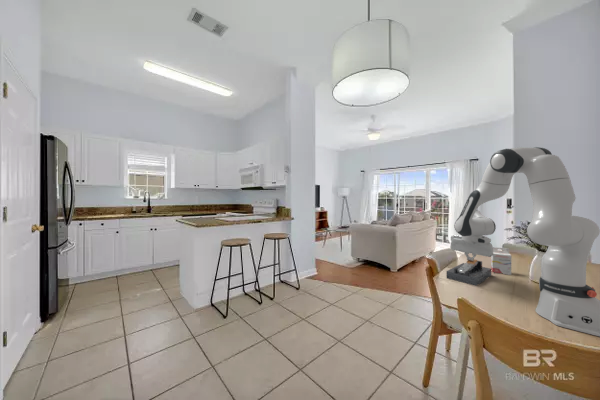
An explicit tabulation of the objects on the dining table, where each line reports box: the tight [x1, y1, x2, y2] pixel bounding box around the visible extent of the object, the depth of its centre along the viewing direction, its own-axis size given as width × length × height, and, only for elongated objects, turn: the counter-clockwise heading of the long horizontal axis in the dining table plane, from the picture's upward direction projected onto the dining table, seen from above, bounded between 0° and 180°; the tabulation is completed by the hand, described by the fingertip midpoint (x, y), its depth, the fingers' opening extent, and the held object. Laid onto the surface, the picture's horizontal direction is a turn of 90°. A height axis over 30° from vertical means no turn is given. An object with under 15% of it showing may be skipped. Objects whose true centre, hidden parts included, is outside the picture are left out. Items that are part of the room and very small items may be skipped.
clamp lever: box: [457, 259, 479, 274], centre depth 127 cm, size 4×19×2 cm, turn 125°
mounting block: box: [446, 260, 492, 287], centre depth 128 cm, size 14×24×8 cm, turn 125°
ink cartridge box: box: [490, 246, 512, 276], centre depth 133 cm, size 9×5×15 cm, turn 58°
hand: (470, 260), depth 131 cm, fingers closed, pressing on clamp lever
